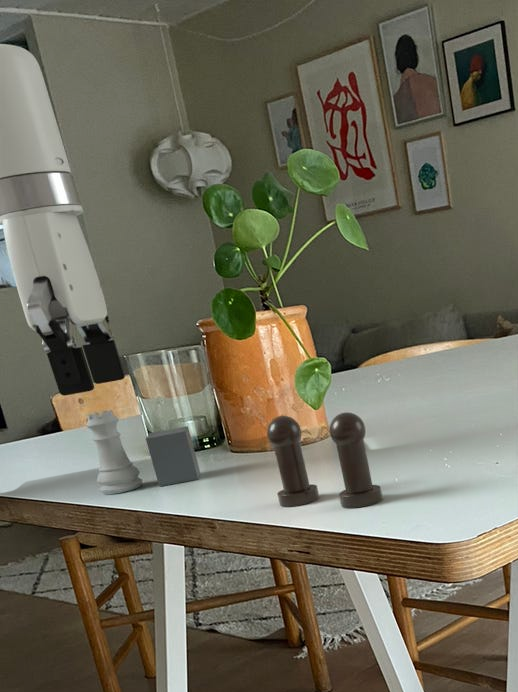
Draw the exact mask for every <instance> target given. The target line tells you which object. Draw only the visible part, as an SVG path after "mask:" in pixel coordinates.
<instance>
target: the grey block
mask: <svg viewBox="0 0 518 692" xmlns="http://www.w3.org/2000/svg"><path fill="white" fill-rule="evenodd" d="M192 440H193V439H192V437H191V433H190V429H189V426H188V425H187V426H182V427H176V428H169V429H165V430H159V431H154V432H149V433H148V434H147V436H146V438H145V441H146V446H147V449H148V452H149V456H150V459H151V463H152V466H153V469H154V470H153V471H154V473H155V476H156V481H157V483H158V487H165V486H171V485H176V484H180V483H186V482H191V481H192V482H193V481H196V480H199V478H200V474H201V470H200V467H199V466H200V465H199V462H198V459H197V455H196V451H195V448H194V443H193V441H192Z"/></svg>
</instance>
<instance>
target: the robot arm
mask: <svg viewBox="0 0 518 692" xmlns="http://www.w3.org/2000/svg"><path fill="white" fill-rule="evenodd" d="M41 69H42V68H41V66H40V64H39V62H38V60H37V58H36V57H35V56H34V55H33V53H31V52H30V51H29V50H27V49H25V48H23V47H22V46H19V45H13V44H6V43H0V226H2V230H3V236H4V241H5V246H6V251H7V255H8V260H9V262H10V267H11V272H12V274H13V278H14V282H15V285H16V289H17V293H18V296H19V300H20V303H21V306H22V310H23V313H24V317H25V320H26V322H27V325H28V327H29V328H30V329H32V330H33V331H34V332H36V333H37V334H38V335H39V336H40V338H41V345H42V348H43V351H44V352H45V353H46V356H47V359H48V362H49V365H50V369H51V371H52V374H53V377H54V380H55V383H56V386H57V389H58V393H59V394H60V395H61V396H70V395H76V394H82V393H88V392H92V391H94V389H95V384H96V385H100V384H106V383H111V382H117V381H121V380H122V381H123V380H124V379H125V377H126V374H125V371H124V368H123V364H122V362H121V361H122V360H121V358H120V355H119V351H118V348H117V344H116V341H115V336H114V333H113V329H112V328H111V326H110V318H109V315H108V309H107V303H106V300H105V296H104V292H103V288H102V285H101V282H100V279H99V276H98V272H97V270H96V267H95V263H94V260H93V258H92V255H91V252H90V250H89V246H88V244H87V241H86V238H85V236H84V233H83V231H82V228H81V224H80V222H79V220H78V218H77V217H78V216H80V215H82V214H83V213H84V210H83V209H84V208H83V206H82V203H81V201H80V196H79V193H78V189H77V187H76V183H75V179H74V177H73V173H72V170H71V167H70V163H69V160H68V156H67V153H66V150H65V147H64V142H63V139H62V135H61V132H60V129H59V126H58V122H57V119H56V115H55V113H54V109H53V108H54V107H53V105H52V101H51V99H50V95H49V92H48V89H47V85H46V82H45V78H44V75H43V72H42V70H41ZM77 332H78V333H79V335H80V336H81V338H82V340H83V341H84V342H85V344H81V345H82V346H80V347H78V337H77V336H78V335H77Z"/></svg>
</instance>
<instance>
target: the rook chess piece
mask: <svg viewBox="0 0 518 692" xmlns="http://www.w3.org/2000/svg"><path fill="white" fill-rule="evenodd" d="M99 413H100V414H99ZM86 418H87V422H86V424H85V427H87V428H88V429H89V430H90V431H91V432H92V434H93V438H92V441H93V442H95V445H96V449H97V454H98V460H99V468H98V471H99V473H98V475H97V479H96V480H97V483H99V484H100V485H101V486H100V488H99V489H98V490H99V491H100V492H101V493H102V494H103V495H115V494H121V493H127V492H130V491H132V490H136V489H138V488H140V487H142V484H143V479H142V478H140V477H139V475H140V470H139V468H137V467H136V466H134V464H133V461H131V460H130V459H129V457H128V454H127V453H126V451H125V448H124V446H123V444H122V441H121V435H122V434H121V433H120V432H119V431H118V429H117V425H118V422H119V418H118V417H117V416H116V415H115V414H114V412H113V409H109V410H106V409H105V410H102V411H101V412H99V411H96V412H93V413H88V414H86Z"/></svg>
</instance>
